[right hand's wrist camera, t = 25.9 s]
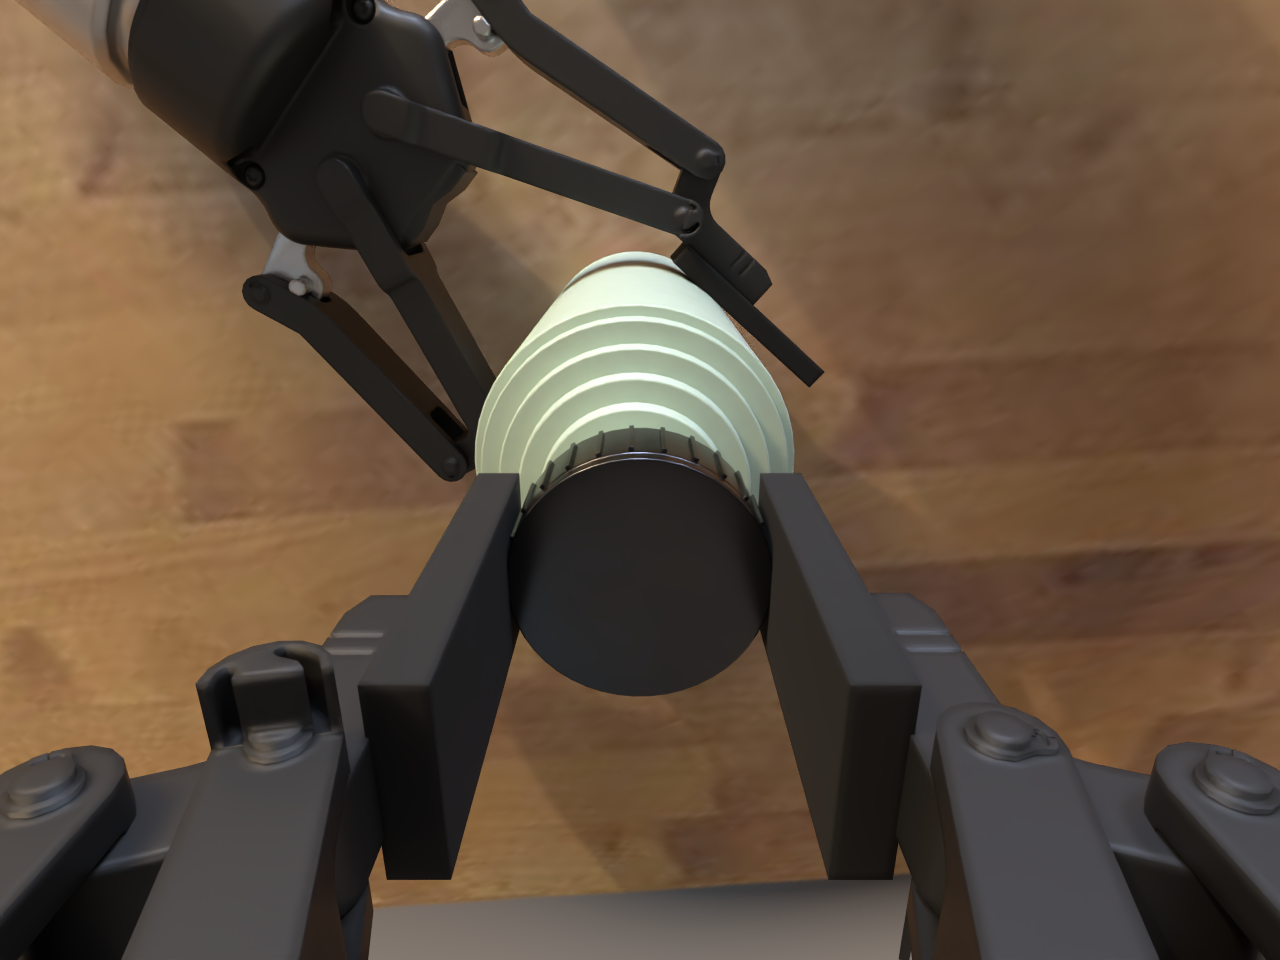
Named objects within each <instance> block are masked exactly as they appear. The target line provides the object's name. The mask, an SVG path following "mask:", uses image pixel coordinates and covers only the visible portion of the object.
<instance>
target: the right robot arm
mask: <svg viewBox="0 0 1280 960" xmlns="http://www.w3.org/2000/svg"><path fill="white" fill-rule="evenodd" d="M758 507H759V510H760V512H761V515H762V518H763V520H764V523H765V525H764V526H762V528H763V531H764V533H765V536H766V539H767V542H768V545H769V549H770V553H771V557H772V582H771V596H770V606H769V609H768V611H767V614H766V617H765V620H764V622H763V624H762V626H761V628H760V631H761V635H762V639H763V642H764V646H765V650H766V653H767V657H768V661H769V664H770V668H771V671H772V675H773V679H774V682H775V686H776V690H777V693H778V697H779V701H780V704H781V708H782V712H783V715H784V719H785V723H786V726H787V730H788V734H789V737H790V741H791V745H792V748H793V752H794V755H795V759H796V763H797V766H798V770H799V774H800V777H801V781H802V785H803V788H804V792H805V796H806V799H807V803H808V807H809V810H810V814H811V818H812V821H813V825H814V829H815V832H816V836H817V839H818V843H819V847H820V850H821V854H822V858H823V861H824V865H825V869H826V872H827V876H828V880H893V874H894V867H895V861H896V854H897V848H898V843H899V845H900V848H901V850H902V853H903V855H904V858H905V860H906V863H907V866H908V868H909V871H910V873H911V876H912V879H911V886H910V892H909V898H908V904H907V910H906V916H905V922H904V928H903V934H902V941H901V947H900V954H899V960H909V958H910V953H912V960H1280V771H1279V770H1277V769H1276V768H1274V767H1272V766H1270V765H1268V764H1266V763H1264V762H1261V761H1259V760H1257V759H1255V758H1253V757H1251V756H1250V755H1248V754H1245V753H1242V752H1239V751H1237V750H1234V749H1233V750H1231V749H1229V748H1226V747H1222V746H1217V745H1212V744H1202V743H1193V742H1186V743H1180V744H1174V745H1168V746H1167V747H1166V748H1164V749H1163V750H1162V751H1161V752H1160V753H1158V754H1157V756H1156V759H1155V763H1154V766H1153V770H1152V773H1151V776H1150V775H1146V774H1141V773H1136V772H1132V771H1127V770H1122V769H1117V768H1113V767H1108V766H1103V765H1098V764H1094V763H1090V762H1086V761H1083V760H1079V759H1076V758H1072V755H1071V753H1070V751H1069V749H1068V747H1067V746H1066V745H1065V743H1064V742H1063V740H1062V739H1061V738H1060V736H1059V735H1058V733H1057V732H1055V731H1054V730H1052V729H1051V728H1050V727H1048V726H1047V725H1046V724H1044V723H1043V722H1042V721H1040V720H1039V719H1037V718H1035V717H1033V716H1031V715H1029V714H1026V713H1024V712H1022V711H1020V710H1017V709H1015V708H1012V707H1007V706H1003V705H1001V704H1000V703H999V701H998V700H997V698H996V697H995V695H994V694H993V693H992V691H991V690H990V688H989V687H988V685H987V684H986V683H985V681H984V680H983V678H982V677H981V676H980V674H979V673H978V671H977V670H976V668H975V667H974V666H973V664H972V663H971V661H970V660H969V658H968V657H967V656H966V654H965V653H964V652H961V647H960V646H959V644H958V643H957V641H956V640H955V639H954V637H953V636H952V635H949V630H948V629H947V627H946V626H945V624H944V623H943V622H942V620H941V619H940V617H939V616H938V614H937V613H936V612H935V610H933V609H932V608H930V607H929V606H927V605H926V604H924V603H923V602H921V601H920V600H918V599H917V598H915V597H914V596H912V595H911V594H909V593H869V591H868V590H867V588H866V586H865V584H864V583H863V581H862V579H861V577H860V576H859V574H858V572H857V570H856V569H855V567H854V565H853V563H852V562H851V560H850V558H849V556H848V555H847V553H846V551H845V549H844V548H843V546H842V544H841V542H840V541H839V539H838V537H837V535H836V534H835V532H834V530H833V528H832V527H831V525H830V523H829V521H828V520H827V518H826V516H825V514H824V513H823V511H822V509H821V507H820V506H819V504H818V502H817V500H816V499H815V497H814V495H813V493H812V492H811V490H810V488H809V486H808V485H807V483H806V481H805V479H804V478H803V476H802V474H801V473H760V484H759V501H758ZM520 509H521V493H520V476H519V473H478V475H477V477H476V479H475V480H474V482H473V484H472V486H471V487H470V489H469V491H468V493H467V494H466V496H465V498H464V500H463V501H462V503H461V505H460V507H459V508H458V510H457V512H456V513H455V515H454V517H453V519H452V520H451V522H450V524H449V526H448V527H447V529H446V531H445V533H444V534H443V536H442V538H441V540H440V541H439V543H438V545H437V547H436V548H435V550H434V552H433V554H432V555H431V557H430V559H429V561H428V562H427V564H426V566H425V568H424V569H423V571H422V573H421V575H420V576H419V578H418V580H417V582H416V583H415V585H414V587H413V589H412V590H411V592H410V594H409V595H371V596H370V597H368V598H367V599H365V600H364V601H362V602H361V603H359V604H358V605H356V606H355V607H353V608H352V609H350V610H349V611H347V612H346V613H345V614H344V615H343V617H342V618H341V620H340V621H339V622H338V624H337V625H336V627H335V628H334V630H333V631H332V632H331V637H330V638H327V640H326V641H325V642H324V644H323V645H322V646H321V645H317V644H313V643H309V642H305V641H277V642H272V643H267V644H262V645H257V646H253V647H250V648H248V649H245V650H242V651H240V652H237V653H235V654H232V655H230V656H228V657H226V658H224V659H223V660H221V661H220V662H218V663H217V664H215V665H214V666H212V667H210V668H209V669H208V670H207V671H206V672H205V673H204V674H203V676H202V677H201V678H200V679H199V680H198V681H197V683H196V688H197V692H198V696H199V700H200V705H201V709H202V713H203V717H204V721H205V725H206V730H207V734H208V738H209V742H210V746H211V752H210V754H209V757H208V759H207V761H205V762H202V763H198V764H194V765H191V766H187V767H183V768H178V769H173V770H169V771H164V772H159V773H155V774H150V775H145V776H141V777H136V778H131V779H129V775H128V772H127V769H126V765H125V762H124V758H122V757H121V756H120V755H119V754H118V753H117V752H115V751H114V750H113V749H110V748H104V747H98V746H92V745H91V746H82V747H73V748H65V749H61V750H57V751H52V752H51V753H46V754H43V755H40V756H37V757H34V758H32V759H30V760H29V761H26V762H24V763H22V764H20V765H18V766H16V767H14V768H12V769H10V770H8V771H6V772H4V773H3V774H1V775H0V960H368V956H369V946H370V937H371V928H372V918H373V905H372V898H371V892H370V886H369V879H368V878H369V876H370V873H371V871H372V868H373V866H374V863H375V860H376V858H377V855H378V853H379V850H380V848H381V845H382V851H383V858H384V864H385V871H386V877H387V880H451V878H452V874H453V870H454V867H455V863H456V859H457V856H458V852H459V849H460V845H461V841H462V838H463V834H464V830H465V827H466V823H467V819H468V816H469V812H470V808H471V805H472V801H473V797H474V794H475V790H476V786H477V783H478V779H479V776H480V772H481V768H482V765H483V761H484V757H485V754H486V750H487V746H488V743H489V739H490V735H491V732H492V728H493V724H494V721H495V717H496V713H497V710H498V706H499V703H500V699H501V695H502V692H503V688H504V684H505V681H506V677H507V673H508V670H509V666H510V662H511V659H512V655H513V651H514V648H515V644H516V640H517V637H518V633H519V630H520V629H519V627H518V625H517V624H516V621H515V619H514V616H513V613H512V611H511V608H510V603H509V590H508V575H507V559H508V554H509V549H510V546H511V543H512V540H510V535H511V533H512V530H513V527H514V525H515V522H516V519H517V517H518V514H519V511H520Z"/></svg>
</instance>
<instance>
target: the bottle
mask: <svg viewBox="0 0 1280 960" xmlns="http://www.w3.org/2000/svg"><path fill="white" fill-rule="evenodd" d="M630 425H634V428H653V429H660V427H665V430H666V431H671V432H675V433H679V434H681V435H684V436H686V437H690V435H691V436H694V437H695V440H696V441H698V442H700V443H701V444H703V445H705V446H707V447H709V448H710V449H711V450H713V451H714V452H716V451H717V450H718V451H719V452H720V453H721V456H722V458H723V459H724V460H725V461H726V462H727V463H728V464H729V465H730V466H731V467H732V468H733V469H734V470H735V472H737V471H738V470H739V472H740V473H741V475H742V478H743V481H744V483H745V486H746V488H747V490H748V491H749V494H750V496H751V495H754V497H755V499H756V502H757V504H758V501H759V484H760V473H793V472H794V441H793V431H792V427H791V423H790V419H789V414H788V411H787V408H786V406H785V403H784V401H783V398H782V396H781V393H780V391H779V389H778V388H777V386H776V384H775V382H774V381H773V379H772V377H771V375H770V374H769V372H768V371H767V370H766V368H765V367H764V366H763V364H762V363H761V362H760V360H759V359H758V357H757V356H756V355H755V353H754V352H753V351H752V349H751V348H750V347H749V345H748V344H747V343H746V341H745V340H744V338H743V337H742V336H741V334H740V333H739V332H738V330H737V329H736V328H735V326H734V325H733V324H732V322H731V321H730V319H729V318H728V317H727V315H726V314H725V313H724V311H723V310H722V309H721V307H720V306H719V305H718V303H717V302H715V301H714V300H713V299H712V298H711V297H710V296H709V295H708V294H707V293H706V292H705V291H703V290H702V289H701V288H700V287H699V286H698V285H697V284H696V283H695V282H694V281H693V280H692V279H690V278H689V277H688V276H687V275H686V274H685V273H684V272H683V271H682V270H681V269H680V268H678V267H677V266H676V265H675V264H674V263H673V261H672V259H669V258H667V257H664V256H661V255H657V254H653V253H647V252H624V253H618V254H613V255H610V256H607V257H604V258H602V259H600V260H597V261H595V262H593V263H592V264H590V265H589V266H587V267H585V268H584V269H583V270H581V271H580V272H579V273H578V274H577V275H576V276H574V278H573V279H572V280H571V281H570V282H569V283H568V284H567V285H566V287H565V288H564V289H563V291H562V292H561V293H560V295H559V296H558V297H557V299H556V300H555V301H554V303H553V304H552V305H551V306H550V308H549V309H548V310H547V312H546V313H545V314H544V316H543V317H542V318H541V320H540V321H539V322H538V323H537V325H536V326H535V327H534V329H533V330H532V331H531V333H530V334H529V335H528V337H527V338H526V339H525V341H524V342H523V343H522V344H521V346H520V347H519V348H518V350H517V351H516V352H515V354H514V355H513V356H512V358H511V359H510V360H509V361H508V363H507V364H506V365H505V367H504V368H503V370H502V371H501V373H500V374H499V376H498V377H497V379H496V380H495V382H494V384H493V386H492V388H491V390H490V392H489V394H488V396H487V398H486V400H485V403H484V406H483V409H482V412H481V415H480V418H479V422H478V428H477V434H476V440H475V466H476V476H477V475H478V473H519V476H520V493H521V508H522V507H523V504H524V501H525V499H526V496H527V493H528V490H529V488H530V485H531V484H532V483H534V484H535V483H536V481H537V480H538V479H539V477H540V476H541V475H542V473H543V472H544V471H545V469H546V466H547V463H548V462H549V461H550V460H551V461H552V462H553V461H554V460H555V459H556V458H557V457H559V456H560V455H561V454H563V453H564V452H565V451H566V450H568V449H569V448H570V446H571V444H572V443H574V442H575V443H576V444H578V443H580V442H581V441H583V440H586V439H588V438H590V437H593V436H595V435H598V433H599V431H602V430H603V432H604V433H605V432H609V431H612V430H618V429H625V428H629V426H630Z"/></svg>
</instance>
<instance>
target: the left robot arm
mask: <svg viewBox="0 0 1280 960" xmlns="http://www.w3.org/2000/svg"><path fill="white" fill-rule="evenodd" d="M16 1H17V2H18V3H19V4H20V5H22V6H23V7H24V8H25V9H27V10H28V11H29V12H30V13H31V14H33V15H34V16H35V17H36V18H38V19H39V20H40V21H41V22H42V23H44V24H45V25H46V26H47V27H49V28H50V29H51V30H52V31H53V32H55V33H56V34H57V35H58V36H59V37H61V38H62V39H63V40H64V41H66V42H67V43H68V44H69V45H70V46H72V47H73V48H74V49H75V50H77V51H78V52H79V53H80V54H81V55H83V56H84V57H85V58H86V59H88V60H89V61H90V62H91V63H92V64H94V65H95V66H96V67H97V68H98V69H100V70H101V71H102V72H103V73H105V74H106V75H107V76H108V77H109V78H111V79H112V80H113V81H114V82H116V83H118V84H120V85H123V86H125V87H128V88H133V89H135V92H136V94H137V96H138V98H139V99H140V100H141V102H142V103H143V104H144V105H145V106H146V107H147V108H148V109H150V110H151V111H152V112H153V113H155V114H156V115H157V116H158V117H160V118H161V119H162V120H163V121H164V122H166V123H167V124H168V125H169V126H171V127H172V128H173V129H174V130H176V131H177V132H178V133H179V134H181V135H182V136H183V137H184V138H185V139H187V140H188V141H189V142H190V143H192V144H193V145H194V146H195V147H197V148H198V149H199V150H200V151H201V152H203V153H204V154H205V155H206V156H208V157H209V158H210V159H211V160H213V161H214V162H215V163H216V164H217V165H219V166H220V167H221V168H222V169H224V170H225V171H226V172H227V173H229V174H230V175H231V176H232V177H234V178H235V179H236V180H238V181H239V182H240V183H242V184H243V185H244V186H246V187H247V188H248V189H249V190H251V191H252V192H253V193H254V194H255V195H256V196H257V197H258V199H259V200H260V201H261V203H262V204H263V206H264V207H265V209H266V211H267V212H268V214H269V217H270V219H271V221H272V223H273V224H274V226H275V227H276V229H277V230H278V231H279V233H278V235H277V238H276V240H275V243H274V245H273V248H272V250H271V253H270V255H269V258H268V260H267V263H266V265H265V267H264V270H263V272H262V274H261V275H256V276H252V277H250V278H248V279H247V280H246V281H245V283H244V284H243V289H242V293H243V297H244V299H245V301H246V302H247V304H248V305H249V306H250V307H252V308H253V309H255V310H256V311H258V312H260V313H262V314H264V315H266V316H267V317H269V318H271V319H273V320H275V321H277V322H279V323H280V324H282V325H284V326H286V327H288V328H290V329H292V330H293V331H295V332H297V333H299V334H300V335H301V336H302V337H303V338H304V339H305V340H306V341H307V342H308V343H309V344H310V345H311V346H312V347H313V348H314V349H315V350H316V351H317V352H318V353H319V354H320V355H321V356H322V357H323V358H324V359H325V360H326V361H327V362H328V363H329V364H330V365H331V367H332V368H333V369H334V370H335V371H336V372H337V373H338V374H339V375H340V376H341V377H342V378H343V379H344V380H345V381H346V382H347V383H348V384H349V385H350V386H351V387H352V388H353V389H354V390H355V391H356V392H357V393H358V394H359V395H360V396H361V397H362V398H363V399H364V400H365V401H366V402H367V403H368V404H369V405H370V406H371V407H372V408H373V409H374V410H375V411H376V413H377V414H378V415H379V416H380V417H381V418H382V419H383V420H384V421H385V422H386V423H387V424H388V425H389V426H390V427H391V428H392V429H393V430H394V431H395V432H396V433H397V434H398V435H399V436H400V437H401V438H402V439H403V440H404V441H405V442H406V443H407V444H408V445H409V446H410V447H411V448H412V449H413V450H414V451H415V452H416V453H417V454H418V455H419V456H420V457H421V459H422V460H423V461H424V462H425V463H426V464H427V465H428V466H429V467H430V468H431V469H432V470H433V471H434V472H435V473H436V474H437V475H438V476H439V477H441V478H442V479H443V480H446V481H449V482H453V481H458V480H460V479H462V478H463V476H464V475H465V474H466V473H468V472H469V471H471V470H473V469H475V468H476V466H475V440H476V434H477V428H478V422H479V418H480V415H481V412H482V409H483V406H484V403H485V400H486V398H487V396H488V394H489V392H490V390H491V388H492V386H493V384H494V382H495V380H496V378H495V376H494V374H493V372H492V370H491V369H490V367H489V365H488V363H487V361H486V360H485V358H484V356H483V354H482V353H481V351H480V349H479V347H478V345H477V344H476V342H475V340H474V338H473V336H472V335H471V333H470V331H469V329H468V328H467V326H466V324H465V322H464V320H463V319H462V317H461V315H460V313H459V311H458V310H457V308H456V306H455V304H454V302H453V301H452V299H451V297H450V295H449V294H448V292H447V290H446V288H445V286H444V285H443V283H442V281H441V279H440V277H439V275H438V273H437V268H436V264H435V262H434V260H433V258H432V256H431V254H430V252H429V251H428V249H427V247H426V245H425V243H424V242H426V241H427V240H428V239H429V237H430V236H431V235H432V233H433V232H434V231H435V229H436V228H437V227H438V225H439V223H440V220H441V217H442V215H443V212H444V210H445V207H446V205H447V203H448V202H450V201H451V200H452V199H454V198H455V197H456V196H458V195H459V194H460V193H462V192H463V191H464V190H465V189H466V188H467V186H468V185H469V184H470V182H471V181H472V180H473V178H474V177H475V176H476V174H477V173H478V172H476V171H475V168H476V167H479V168H482V169H485V170H488V171H491V172H494V173H498V174H501V175H504V176H507V177H510V178H512V179H515V180H518V181H521V182H524V183H527V184H530V185H533V186H536V187H538V188H541V189H544V190H547V191H550V192H553V193H556V194H559V195H562V196H564V197H567V198H570V199H573V200H576V201H579V202H582V203H585V204H588V205H590V206H593V207H596V208H599V209H602V210H605V211H608V212H611V213H614V214H616V215H619V216H622V217H625V218H628V219H631V220H634V221H637V222H640V223H643V224H645V225H648V226H651V227H654V228H657V229H660V230H663V231H666V232H669V233H671V234H674V235H676V236H677V237H678V238H679V239H680V240H681V241H683V243H682V244H681V245H680V246H679V247H678V248H677V250H676V251H675V252H674V253H673V254H672V255H671V259H672V261H673V263H674V264H675V265H676V266H677V267H678V268H680V269H681V270H682V271H683V272H684V273H685V274H686V275H687V276H688V277H689V278H690V279H692V280H693V281H694V282H695V283H696V284H697V285H698V286H699V287H700V288H701V289H702V290H703V291H705V292H706V293H707V294H708V295H709V296H710V297H711V298H712V299H713V300H714V301H715V302H717V303H718V304H719V305H720V306H721V307H722V308H723V309H724V310H725V311H726V312H727V313H729V314H730V315H731V316H732V317H733V318H734V319H735V320H736V321H737V322H738V323H739V324H741V325H742V326H743V327H744V328H745V329H746V330H747V331H748V332H749V333H750V334H751V335H753V336H754V337H755V338H756V339H757V340H758V341H759V342H760V343H761V344H762V345H763V346H765V347H766V348H767V349H768V350H769V351H770V352H771V353H772V354H773V355H774V356H775V357H776V358H778V359H779V360H780V361H781V362H782V363H783V364H784V365H785V366H786V367H787V368H788V369H790V370H791V371H792V372H793V373H794V374H795V375H796V376H797V377H798V378H799V379H800V380H802V381H803V382H804V383H805V384H806V385H807V386H808V387H810V386H811V385H812V384H813V383H814V382H815V381H816V380H817V379H818V378H819V377H820V376H821V375H822V374H823V373H824V371H823V370H822V369H821V368H820V367H819V366H818V365H817V364H816V363H815V362H814V361H812V360H811V359H810V358H809V357H808V356H807V355H806V354H805V353H804V352H803V351H802V350H801V349H800V348H799V347H798V346H796V345H795V344H794V343H793V342H792V341H791V340H790V339H789V338H788V337H787V336H786V335H785V334H784V333H782V332H781V331H780V330H779V329H778V328H777V327H776V326H775V325H774V324H773V323H772V322H771V321H770V320H769V319H767V318H766V317H765V316H764V315H763V314H762V313H761V312H760V311H759V310H758V309H757V308H756V307H755V306H753V305H754V304H755V303H756V302H757V301H758V300H759V298H760V297H761V296H762V295H763V294H764V293H765V292H766V291H767V290H768V289H769V287H770V286H771V285H772V283H771V280H770V278H769V276H768V273H767V271H766V270H765V269H764V268H763V267H762V266H761V265H760V264H759V263H758V262H757V261H756V260H755V259H754V258H753V257H752V256H751V255H750V254H749V253H748V252H746V251H745V250H744V249H743V248H742V247H741V246H740V245H739V244H738V243H737V242H736V241H735V240H734V239H733V238H732V237H731V236H730V235H729V234H728V233H726V232H725V231H724V230H723V229H722V228H721V227H720V226H719V225H718V224H717V223H716V222H715V220H714V219H713V217H712V215H711V212H710V199H711V195H712V193H713V190H714V188H715V185H716V183H717V180H718V178H719V175H720V173H721V172H722V170H723V168H724V165H725V154H724V151H723V148H722V147H721V146H720V145H719V144H718V143H717V142H715V141H714V140H713V139H711V138H710V137H708V136H707V135H705V134H704V133H703V132H701V131H700V130H698V129H697V128H695V127H694V126H692V125H691V124H690V123H688V122H687V121H685V120H684V119H682V118H681V117H680V116H678V115H677V114H675V113H674V112H672V111H671V110H669V109H668V108H667V107H665V106H664V105H662V104H661V103H659V102H658V101H656V100H655V99H654V98H652V97H651V96H649V95H648V94H646V93H645V92H644V91H642V90H641V89H639V88H638V87H636V86H635V85H633V84H632V83H631V82H629V81H628V80H626V79H625V78H623V77H622V76H621V75H619V74H618V73H616V72H615V71H613V70H612V69H610V68H609V67H608V66H606V65H605V64H603V63H602V62H600V61H599V60H597V59H596V58H595V57H593V56H592V55H590V54H589V53H587V52H586V51H585V50H583V49H582V48H580V47H579V46H577V45H576V44H574V43H573V42H572V41H570V40H569V39H567V38H566V37H564V36H563V35H562V34H560V33H559V32H557V31H556V30H554V29H553V28H551V27H550V26H549V25H547V24H546V23H544V22H543V21H541V20H540V19H539V18H537V17H536V16H534V15H533V14H531V13H530V12H529V10H528V9H527V7H526V6H525V5H524V3H523V2H522V0H442V1H441V2H440V3H439V4H438V5H437V6H436V7H435V8H434V9H433V10H432V11H431V12H430V13H429V14H428V15H427V16H426V17H425V18H424V17H423V16H421V15H418V14H416V13H412V12H407V11H403V10H400V9H397V8H395V7H393V6H391V5H389V4H388V3H386V2H385V1H384V0H16ZM460 45H471V46H473V47H475V48H476V49H478V50H479V51H480V52H481V53H483V54H484V55H487V56H492V57H494V56H498V55H500V54H502V53H503V52H504V51H505V50H506V49H507V48H509V49H510V50H511V51H512V52H513V53H514V54H515V55H516V56H517V57H518V58H519V59H520V60H521V61H522V62H523V63H524V64H526V65H527V66H528V67H530V68H531V69H532V70H533V71H535V72H536V73H538V74H539V75H541V76H542V77H544V78H545V79H547V80H548V81H549V82H551V83H552V84H554V85H555V86H557V87H558V88H560V89H561V90H563V91H564V92H566V93H567V94H569V95H570V96H572V97H573V98H574V99H576V100H577V101H579V102H580V103H582V104H583V105H585V106H586V107H588V108H589V109H591V110H592V111H594V112H595V113H597V114H598V115H599V116H601V117H602V118H604V119H605V120H607V121H608V122H610V123H611V124H613V125H614V126H616V127H617V128H619V129H620V130H622V131H623V132H624V133H626V134H627V135H629V136H630V137H632V138H633V139H635V140H636V141H638V142H639V143H641V144H642V145H644V146H645V147H647V148H648V149H650V150H651V151H652V152H654V153H655V154H657V155H658V156H660V157H661V158H663V159H664V160H666V161H667V162H669V163H670V164H672V165H673V166H675V167H676V168H677V169H679V170H680V174H679V176H678V179H677V182H676V184H675V187H674V189H673V192H672V193H670V192H667V191H665V190H662V189H659V188H656V187H653V186H650V185H648V184H645V183H642V182H639V181H636V180H633V179H631V178H628V177H625V176H622V175H619V174H616V173H614V172H611V171H608V170H605V169H602V168H599V167H597V166H594V165H591V164H588V163H585V162H582V161H579V160H577V159H574V158H571V157H568V156H565V155H562V154H560V153H557V152H554V151H551V150H548V149H545V148H543V147H540V146H537V145H534V144H531V143H528V142H526V141H523V140H520V139H517V138H514V137H511V136H509V135H506V134H503V133H501V132H498V131H495V130H492V129H489V128H487V127H484V126H481V125H478V124H475V123H472V120H471V117H470V113H469V110H468V106H467V102H466V99H465V95H464V91H463V88H462V84H461V81H460V77H459V73H458V70H457V66H456V63H455V59H454V55H453V52H452V50H453V49H454V48H456V47H457V46H460ZM316 246H320V247H330V248H341V249H352V250H358V252H359V254H360V255H361V257H362V259H363V260H364V262H365V264H366V265H367V267H368V269H369V271H370V272H371V274H372V276H373V277H374V279H375V281H376V282H377V284H378V285H379V287H380V288H381V289H382V290H383V291H384V292H385V293H387V294H388V295H389V296H390V297H391V299H392V300H393V302H394V304H395V305H396V307H397V309H398V310H399V312H400V314H401V316H402V317H403V319H404V321H405V322H406V324H407V326H408V328H409V329H410V331H411V333H412V334H413V336H414V338H415V340H416V341H417V343H418V345H419V346H420V348H421V350H422V351H423V353H424V355H425V357H426V358H427V360H428V362H429V363H430V365H431V367H432V369H433V370H434V372H435V374H436V375H437V377H438V379H439V380H440V382H441V384H442V386H443V387H444V389H445V391H446V392H447V394H448V396H449V398H450V399H451V401H452V403H453V404H454V406H455V408H456V409H457V411H458V413H459V415H460V416H461V418H462V420H463V421H464V423H465V425H466V427H467V428H468V429H467V428H466V427H465V426H464V425H463V424H462V423H461V422H460V421H459V420H458V419H457V418H456V417H455V416H454V415H453V414H452V413H451V411H450V410H449V409H448V408H447V407H446V406H445V405H444V404H443V403H442V402H441V401H440V400H439V399H438V398H437V397H436V396H435V394H434V393H433V392H432V391H431V390H430V389H429V388H428V387H427V386H426V385H425V384H424V383H423V382H422V381H421V380H420V379H419V378H418V376H417V375H416V374H415V373H414V372H413V371H412V370H411V369H410V368H409V367H408V366H407V365H406V364H405V363H404V362H403V361H402V359H401V358H400V357H399V356H398V355H397V354H396V353H395V352H394V351H393V350H392V349H391V348H390V347H389V346H388V345H387V344H386V342H385V341H384V340H383V339H382V338H381V337H380V336H379V335H378V334H377V333H376V332H375V331H374V330H373V329H372V328H371V327H370V326H369V324H368V323H367V322H366V321H365V320H364V319H363V318H362V317H361V316H360V315H359V314H358V313H357V312H356V311H355V310H354V309H353V308H352V307H351V306H350V305H349V304H348V303H347V302H345V301H344V300H343V299H341V298H340V297H339V296H338V295H336V294H335V293H333V292H331V289H332V281H331V278H330V276H329V274H328V273H327V272H326V271H325V270H324V269H323V268H322V267H321V266H320V265H319V264H318V262H317V260H316V257H315V247H316Z"/></svg>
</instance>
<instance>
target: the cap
mask: <svg viewBox="0 0 1280 960" xmlns="http://www.w3.org/2000/svg"><path fill="white" fill-rule="evenodd" d="M764 525H765V523H764V520H763V518H762V515H761V512H760V510H759V507H758V504H757V502H756V499H755V497H754V495H751V496H750V494H749V491H748V490H747V488H746V486H745V483H744V481H743V478H742V475H741V473H740V472H739V470H738V471H737V472H735V470H734V469H733V468H732V467H731V466H730V465H729V464H728V463H727V462H726V461H725V460H724V459H723V458H722V456H721V453H720V452H719V451H718V450H717V451H716V452H714V451H713V450H711V449H710V448H709V447H707V446H705V445H703V444H701V443H700V442H698V441H696V440H695V437H694V436H691V435H690V437H686V436H684V435H681V434H679V433H675V432H671V431H666V430H665V427H660V429H653V428H634V425H630V426H629V428H625V429H618V430H612V431H609V432H605V433H604V432H603V430H602V431H599V433H598V435H595V436H593V437H590V438H588V439H586V440H583V441H581V442H580V443H578V444H576V443H575V442H574V443H572V444H571V446H570V448H569V449H568V450H566V451H565V452H564V453H563V454H561V455H560V456H559V457H557V458H556V459H555V460H554V461H553V462H552V461H551V460H550V461H549V462H548V463H547V466H546V469H545V471H544V472H543V473H542V475H541V476H540V477H539V479H538V480H537V481H536V483H535V484H534V483H532V484H531V485H530V488H529V490H528V493H527V496H526V499H525V501H524V504H523V507H522V508H521V509H520V511H519V514H518V517H517V519H516V522H515V525H514V527H513V530H512V533H511V535H510V540H512V543H511V546H510V549H509V554H508V559H507V575H508V590H509V603H510V608H511V611H512V613H513V616H514V619H515V621H516V624H517V625H518V627H519V629H520V631H521V632H522V634H523V636H524V638H525V639H526V640H527V642H528V643H529V644H530V646H531V647H532V648H533V650H534V651H535V652H536V653H537V654H538V655H539V656H540V657H541V658H542V659H543V660H544V661H545V662H546V663H548V664H549V665H550V666H551V667H553V668H554V669H555V670H557V671H558V672H560V673H561V674H563V675H564V676H566V677H568V678H569V679H571V680H573V681H575V682H577V683H580V684H582V685H584V686H586V687H589V688H592V689H595V690H598V691H602V692H606V693H611V694H616V695H625V696H655V695H663V694H669V693H673V692H677V691H681V690H684V689H687V688H690V687H693V686H695V685H698V684H700V683H702V682H704V681H706V680H708V679H710V678H712V677H714V676H715V675H717V674H718V673H720V672H721V671H723V670H724V669H726V668H727V667H728V666H729V665H730V664H732V663H733V662H734V661H735V660H736V659H737V658H738V657H739V656H740V655H741V654H742V653H743V652H744V651H745V650H746V649H747V648H748V646H749V645H750V643H751V642H752V641H753V639H754V638H755V636H756V635H757V633H758V631H759V630H760V628H761V626H762V624H763V622H764V620H765V617H766V614H767V611H768V609H769V606H770V596H771V582H772V557H771V553H770V549H769V545H768V542H767V539H766V536H765V533H764V531H763V528H762V526H764Z"/></svg>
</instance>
